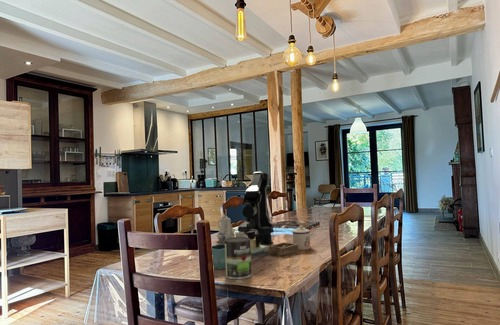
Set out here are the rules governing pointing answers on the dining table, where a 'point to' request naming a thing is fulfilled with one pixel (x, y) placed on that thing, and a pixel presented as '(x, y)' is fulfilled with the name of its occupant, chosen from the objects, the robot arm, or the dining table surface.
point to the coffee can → (238, 258)
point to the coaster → (259, 254)
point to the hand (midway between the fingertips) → (255, 246)
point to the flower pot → (219, 256)
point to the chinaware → (227, 229)
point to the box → (283, 249)
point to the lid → (257, 249)
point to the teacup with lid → (301, 238)
